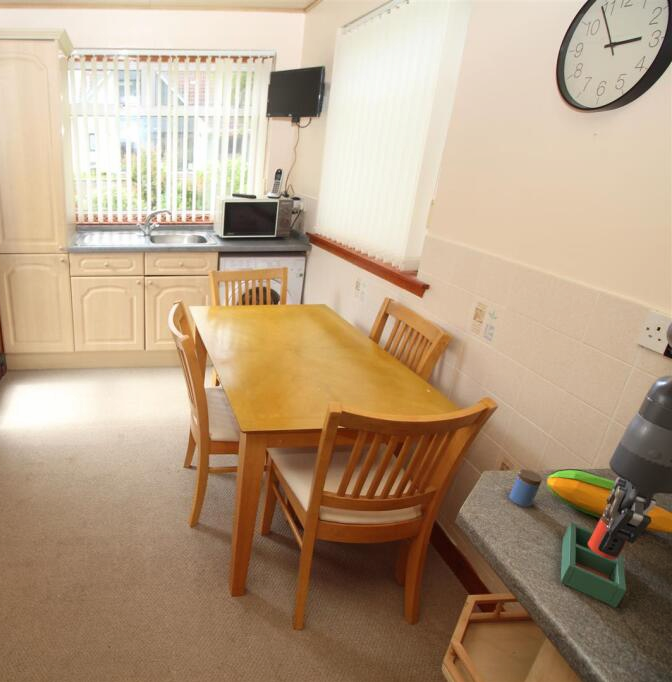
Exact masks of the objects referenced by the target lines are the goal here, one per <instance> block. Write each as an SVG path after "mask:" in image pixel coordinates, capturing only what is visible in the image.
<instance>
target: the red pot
mask: <svg viewBox="0 0 672 682" xmlns="http://www.w3.org/2000/svg"><path fill="white" fill-rule="evenodd" d="M611 518H612V517H611V515H610V513H609V511H605V512H604V513H603V515H602V517H601V518H599V521H598V522H597V524H596V526H595V528H594V529H593V531H594V532H593V534H592V536H591V538H590V539H589V541H588V546H589V547H590V549H591V550H593V551H594V552H595V553H597V554H598V555H600V556H602V557H605V558H608V559H617V558H618V557H619V555H620V554H621V552H622V553H623V551H624V548H625V547H626V544H627V543H628V542H627V541H626V542H625V544H624V546H623V548H622V549H621V551H620V553H619V555H618V556H617V557H613V556H610V555H608V554H605V553H603V552H601V551H599V549H598V545H599V543H600V541H601V539H602V537H603V535H604V533H605V531H606V530H607V528H606V527H607V525H609V522H610V520H611Z"/></svg>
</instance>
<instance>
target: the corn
mask: <svg viewBox="0 0 672 682" xmlns="http://www.w3.org/2000/svg"><path fill="white" fill-rule="evenodd" d="M614 482H615V480H611V479H608V478H605V477H604V476H601V475H599V474H596V473H593V472H589V471H586V470H582V469H575V468H567V469H557V470H556V471H554V472H551V473H550V474H548V476H547V479H546V485H547V488H548V489H549V491H550V492H551V494H553V495H554V496H555V497H556V498H558V499H559V500H560V501H562V502H563V503H565V504H566V505H568V506H571V507H573V508H574V509H576V510H578V511H580V512H582V513H584V514H588V515H589V516H592V517H595V518H598V519H600V518H601V517H602V515H603V513H604V512H605V511H606V510H605V508H606V507H607V506H608V504H607V501H606V500H607V498H608V497H609V494H610V492H611V489H612V487H613V485H614ZM647 516H650V517H651V523H650V524H649V525H648V526H647V527H646V528H645V530H646V531H649V532H658V533H663V534H664V533H666V534H672V512H670V511H668V510H666V509H664V508H662V507H660V506H658V505H656V504H655V506H654V508H653V510H651V511H649V513H648V515H647ZM645 530H644V531H645Z"/></svg>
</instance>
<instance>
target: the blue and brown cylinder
mask: <svg viewBox="0 0 672 682" xmlns="http://www.w3.org/2000/svg"><path fill="white" fill-rule="evenodd" d="M542 483H543V477H542V476H541V475H540V474H538V473H537V472H535V471H533V470H530V469H524V468H523V469H520V470H519V471H518V474H517V476H516V479H515V481H514V483H513V486H512V488H511V490H510V493H509V495H508V497H509V499H510V500H511V501H512V502H513V503H515V504H516V505H519V506H521V507H525V508H530V507H532V505H533V503H534V500H535V498H536V496H537V494H538V492H539V489H540V487H541V484H542Z"/></svg>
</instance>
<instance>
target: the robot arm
mask: <svg viewBox="0 0 672 682" xmlns="http://www.w3.org/2000/svg"><path fill="white" fill-rule="evenodd" d="M665 333H666V341H667V343H668V345H669V346H670V348H672V321H670V323H669V325H668V327H667V329H666V332H665ZM608 464H609V467H610V469H611V470H612V472H614V474H616V477H615V480H614V481H615V482H614V485H613V487H612V489H611V492H610V494H609V497H608V498H607V500H606V501H607V504H608V506H607V507H606V508H605V510H606V511H609V513H610V515H611V517H612V518H611V520H610V522H609V525H607V527H606V528H607V530H606V531H605V533H604V535H603V537H602V539H601V541H600V543H599V545H598V549H599V551H601V552H603V553H605V554H608V555H610V556H613V557H617V556H618V555H619V553H620V551H621V549H622V548H623V546H624V544H625V542H626V541H627V543H629V544H634V543H635V542H636V540H637V539H639V537H640V536H641V534H642V533H643V532H645V528H646V527H647V526H648V525H649V524H650V523H651V517H650V516H647V515H648V513H649V511H651V510H653V508H654V506H655V505H656V504H657V498H654V496H655V495H656V494H665V495H672V374H667V375H666V374H665V375H663V376H659V377H658V378H656V379H655V380H654V381H653V382H652V383H651V386H650V387H649V388H648V391H647V392H646V394H645V396H644V397H643V400H642V402H641V404H640V406H639V408H638V410H637V412H636V413H635V415H634V416H633V417H632V419H631V420H630V421H629V423H628V424H627V426H626V428H625V430H624V432H623V434H622V436H621V438H620V440H619V441H618V443H617V446H616V448H615V450H614V452H613V454H612V456H611V458H610V460H609V463H608ZM623 549H624V548H623Z"/></svg>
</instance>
